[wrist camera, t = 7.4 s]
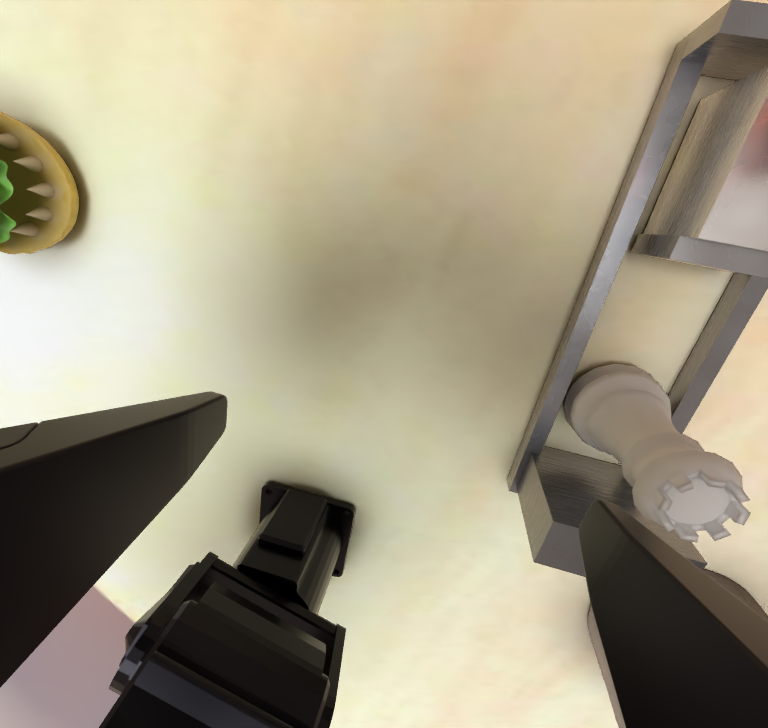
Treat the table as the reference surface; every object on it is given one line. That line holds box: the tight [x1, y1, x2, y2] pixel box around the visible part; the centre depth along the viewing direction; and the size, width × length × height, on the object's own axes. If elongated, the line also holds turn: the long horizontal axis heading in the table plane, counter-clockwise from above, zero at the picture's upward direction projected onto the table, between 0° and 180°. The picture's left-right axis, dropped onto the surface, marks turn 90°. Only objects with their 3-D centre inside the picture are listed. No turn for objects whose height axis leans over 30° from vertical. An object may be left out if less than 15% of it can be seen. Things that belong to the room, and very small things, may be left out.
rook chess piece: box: [564, 364, 750, 542], centre depth 15 cm, size 4×4×8 cm
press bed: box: [507, 0, 768, 577], centre depth 15 cm, size 21×7×6 cm, turn 170°
